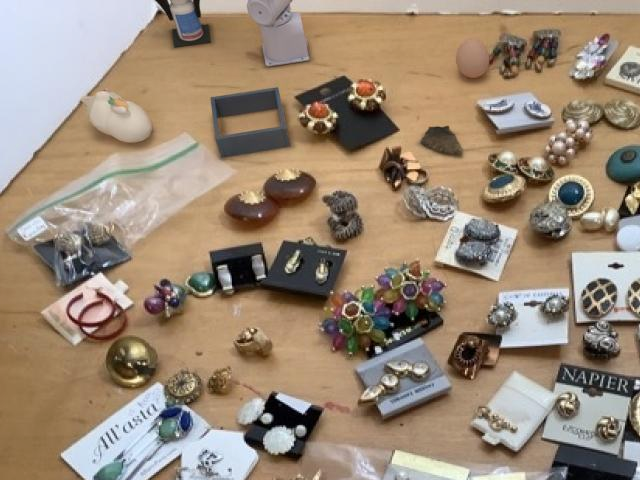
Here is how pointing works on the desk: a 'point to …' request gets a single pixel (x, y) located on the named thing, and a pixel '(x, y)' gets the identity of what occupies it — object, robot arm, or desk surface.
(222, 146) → the open box
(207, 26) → the pad
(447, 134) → the arrowhead
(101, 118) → the cat figurine
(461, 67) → the egg
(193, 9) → the pill bottle
